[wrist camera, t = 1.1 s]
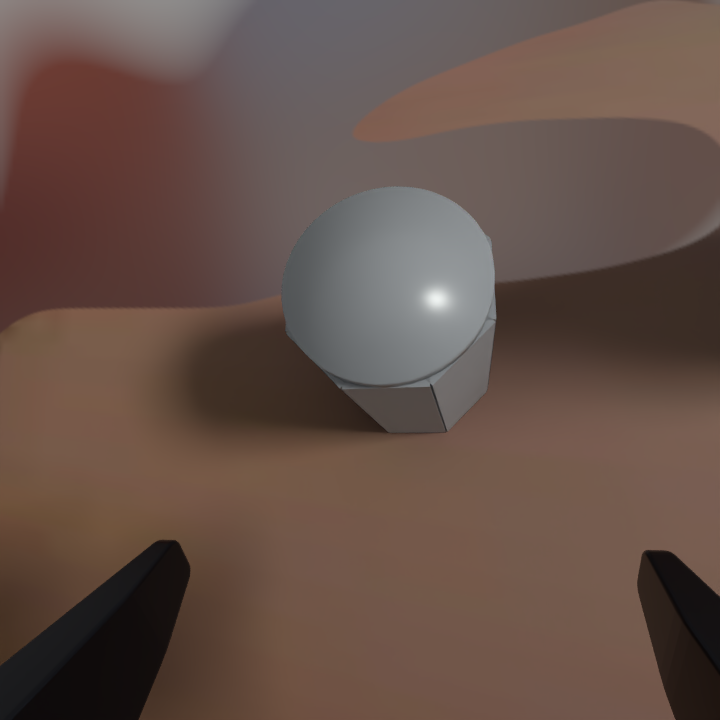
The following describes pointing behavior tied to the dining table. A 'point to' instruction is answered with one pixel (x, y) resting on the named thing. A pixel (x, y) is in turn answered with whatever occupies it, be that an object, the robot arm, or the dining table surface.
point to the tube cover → (396, 305)
